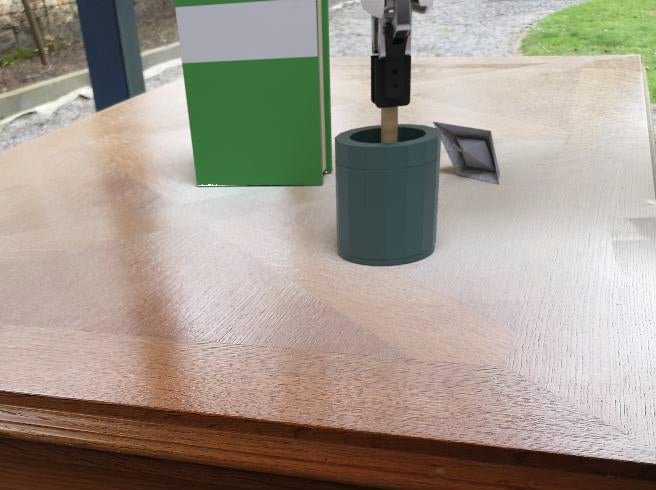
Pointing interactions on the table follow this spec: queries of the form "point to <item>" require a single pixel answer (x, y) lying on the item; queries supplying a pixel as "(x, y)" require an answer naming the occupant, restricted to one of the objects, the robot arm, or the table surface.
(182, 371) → the table surface
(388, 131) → the brush
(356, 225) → the cup
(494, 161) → the paper boat
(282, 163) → the hardback book
